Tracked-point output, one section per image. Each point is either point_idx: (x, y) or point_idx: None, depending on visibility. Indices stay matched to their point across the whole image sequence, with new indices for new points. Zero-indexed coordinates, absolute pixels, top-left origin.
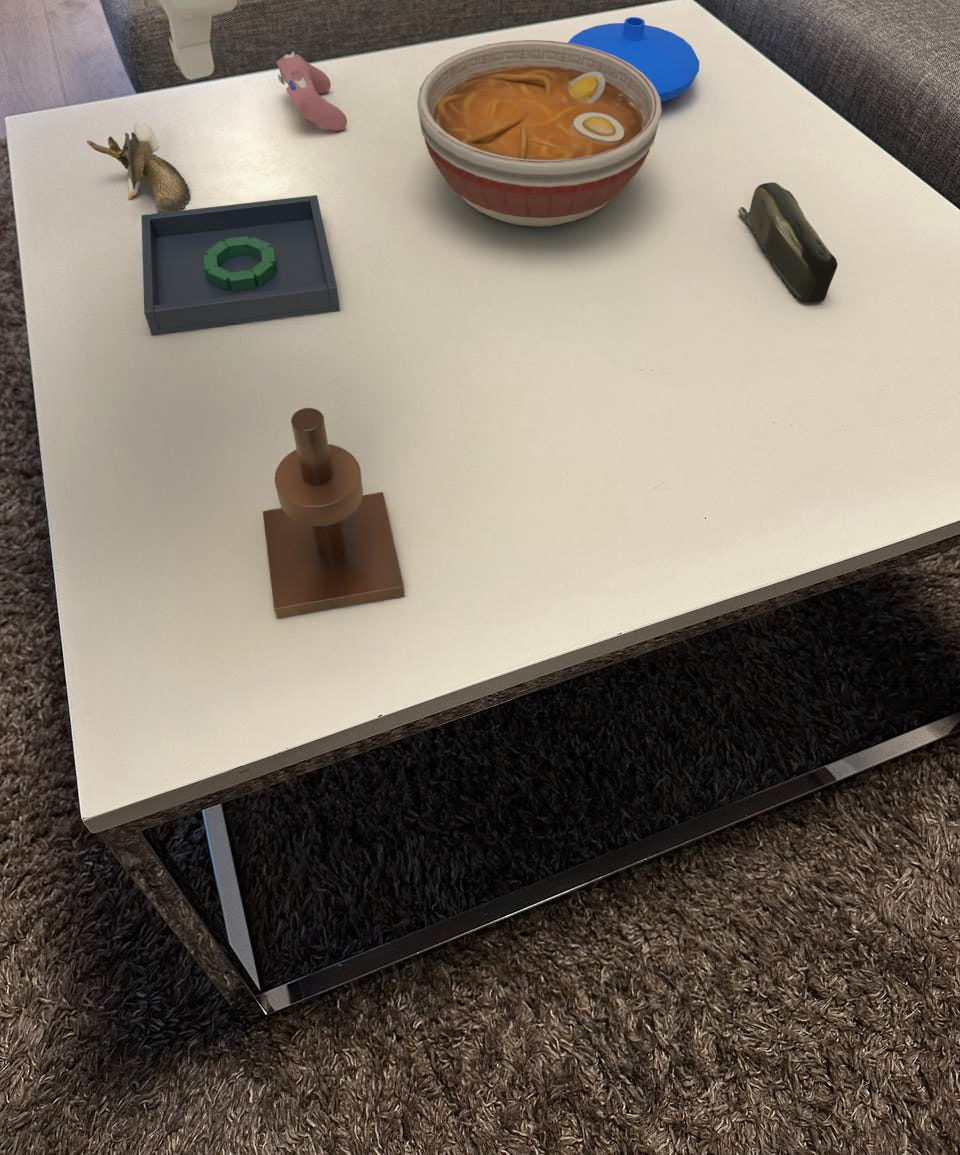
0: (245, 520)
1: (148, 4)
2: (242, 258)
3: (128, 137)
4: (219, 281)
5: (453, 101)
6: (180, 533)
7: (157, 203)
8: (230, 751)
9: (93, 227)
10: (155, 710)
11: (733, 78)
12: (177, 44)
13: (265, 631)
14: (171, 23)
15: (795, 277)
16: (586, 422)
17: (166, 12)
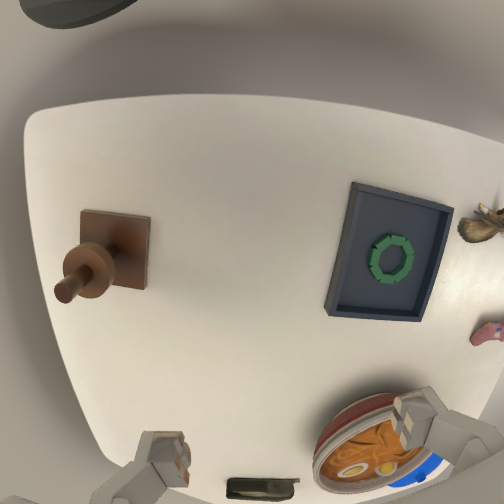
0: (154, 205)
1: (394, 411)
2: (398, 260)
3: None
4: (378, 241)
5: None
6: (157, 165)
7: (467, 220)
8: (29, 175)
9: (465, 174)
10: (54, 141)
11: (386, 487)
12: (125, 466)
13: (79, 202)
14: (106, 490)
15: (237, 484)
16: (178, 393)
17: (12, 500)
